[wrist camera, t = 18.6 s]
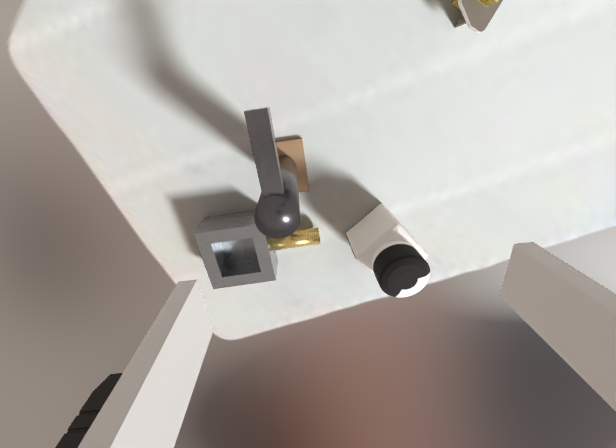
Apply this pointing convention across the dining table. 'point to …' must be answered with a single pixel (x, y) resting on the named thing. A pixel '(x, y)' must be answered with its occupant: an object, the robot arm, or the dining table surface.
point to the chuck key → (273, 179)
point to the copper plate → (295, 159)
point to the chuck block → (243, 249)
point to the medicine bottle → (389, 253)
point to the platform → (476, 13)
